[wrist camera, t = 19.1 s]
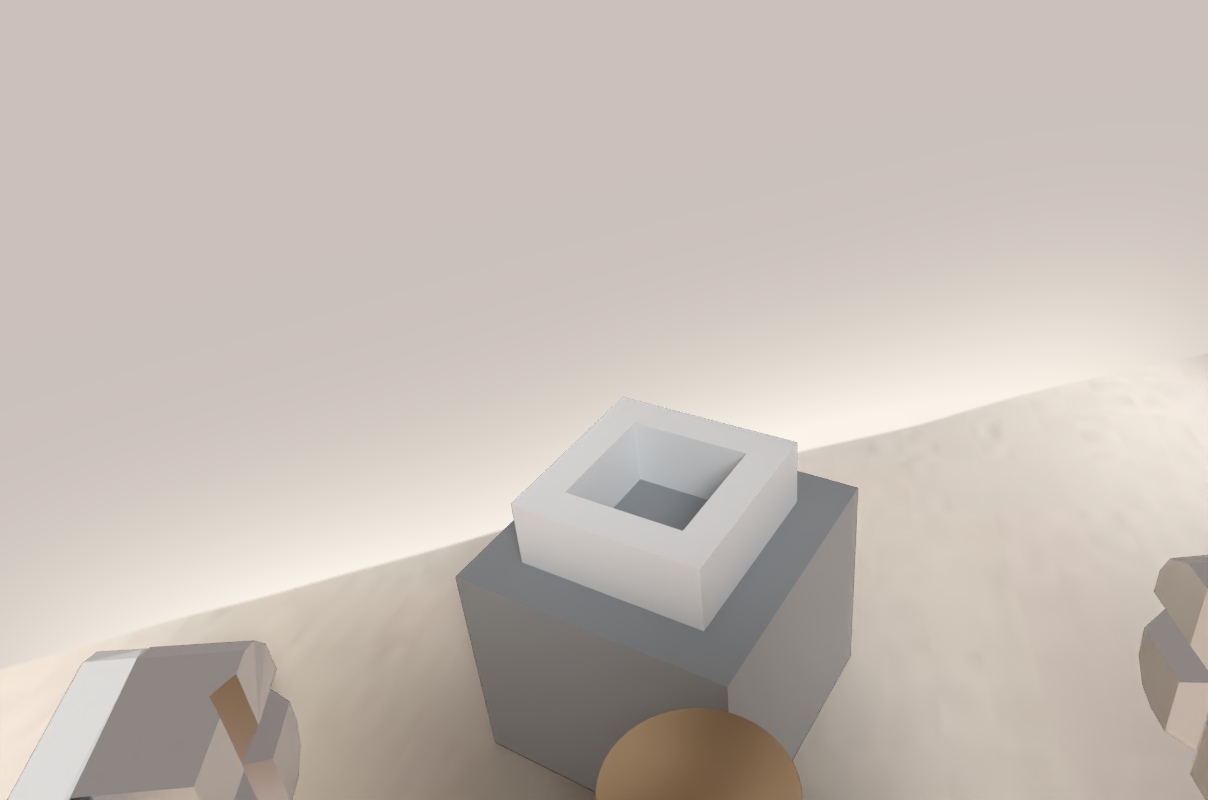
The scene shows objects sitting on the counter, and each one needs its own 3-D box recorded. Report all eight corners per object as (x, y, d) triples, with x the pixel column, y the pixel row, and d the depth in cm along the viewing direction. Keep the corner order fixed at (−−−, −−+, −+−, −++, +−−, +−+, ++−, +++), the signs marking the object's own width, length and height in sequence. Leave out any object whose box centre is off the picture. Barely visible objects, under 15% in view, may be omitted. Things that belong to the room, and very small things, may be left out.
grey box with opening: (850, 655, 48) (861, 428, 41) (736, 862, 40) (724, 623, 33) (633, 576, 54) (609, 367, 47) (494, 742, 46) (441, 518, 39)
